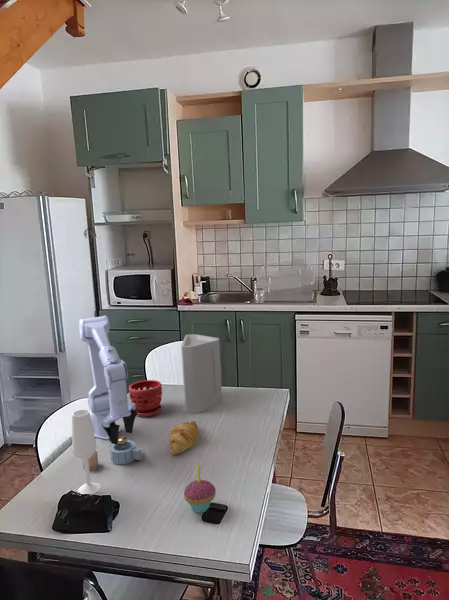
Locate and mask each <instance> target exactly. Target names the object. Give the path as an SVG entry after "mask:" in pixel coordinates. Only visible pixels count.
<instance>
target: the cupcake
mask: <svg viewBox="0 0 449 600" xmlns="http://www.w3.org/2000/svg"><path fill="white" fill-rule="evenodd" d="M200 467H201V466H200V463H199V462H197V466H196V468H197V480H194V481H193V480H192V481H191V482H189V484H187V485H186V487H185V488H184V490H183V491H184V492H183V496H184V500H185V501H186V503H188V504H189V506H190V507H191V510H192V511H193V512H195V513H197V514H202V513H204V512H207V511H208V510H209V509H208V508H210V505H211V502H212V501H213V500H214V499H215V496H216V493H217V491H216V490H217V489H216V487H215V485H213V483H211V482H210V481H208V480H206V479H201V468H200ZM207 509H208V510H207Z"/></svg>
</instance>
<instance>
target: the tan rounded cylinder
mask: <svg viewBox="0 0 449 600" xmlns="http://www.w3.org/2000/svg"><path fill="white" fill-rule="evenodd" d="M82 464H83V470H85V466H84V460H82ZM88 464H89V471H94V470H95V468H96V469H97V468H98V467H99V457H98V451H97V450H95V452H94V454H93V455H92V456H91V457H90V458H89V459H88ZM93 469H94V470H93Z"/></svg>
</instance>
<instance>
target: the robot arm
mask: <svg viewBox="0 0 449 600" xmlns="http://www.w3.org/2000/svg"><path fill="white" fill-rule="evenodd" d="M110 328H111V327H110V320H109V317H108V316H107V315H101V316H96V317H89V318H80V320H79V321H78V331H79V336H80V337H79V338H80V339H81V342H84V343H86V345H87V348H88V349H87V350H88V354H89V360H90V367H91V373H92V379H93V384H94V385H93V387H92V388H91V389H90V390H89V391H88V393H87V404H88V410H89V413H90V417H91V422H92V427H93V431H94V436H95V438H98V439H102V440H109V441H110V442H111V443H110V444H118V438H119V432H121V431H122V428H120V426H121V425H120V424H117V423H116V422H117V421H118V420H120V419H122V420H123V425H124V431H125V433H127V434H132V433H133V430H134V423H135V420H136V417H137V411H133V410H134V409H136V408H135V403H131V402H128V401H129V400H128V392H127V381H126V380H127V379H128V377H129V374H128V368H127V364H126V362H125V361H124V360H123V359H121V358H120V356H119V354H118V351H117V349H116V347H114V346H112V345H111V342H110V339H109V336H108V334H109V333H110Z"/></svg>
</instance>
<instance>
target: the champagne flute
mask: <svg viewBox="0 0 449 600" xmlns="http://www.w3.org/2000/svg"><path fill="white" fill-rule="evenodd" d="M71 440H72V441H71V443H72V449H71V450H72V453H73V455H74V456H76V458H78V459H80V460H82V461H83V460H84V466H85V469H84V474H85V483H83V485H81V486H80V487H78V489H77V491H78V492H80V493H81V494H92V493H95V494H97V493H98V492H99V491H100V490H101V489H100V488H102V486H101V484H100V483H99V482H95V483H94V482H93V481H91V473H90V472H91V471H90V470H89V464H88V459H89V458H90V457H91V456H92V455H93V454H94V452H95V451H97V447H98V445H97V441H96V437H95V436H94V431H93V427H92V422H91V417H90V409H85V408H83V409H78V410H75V411H73V412H72V413H71ZM78 492H77V493H78ZM96 492H97V493H96Z"/></svg>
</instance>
